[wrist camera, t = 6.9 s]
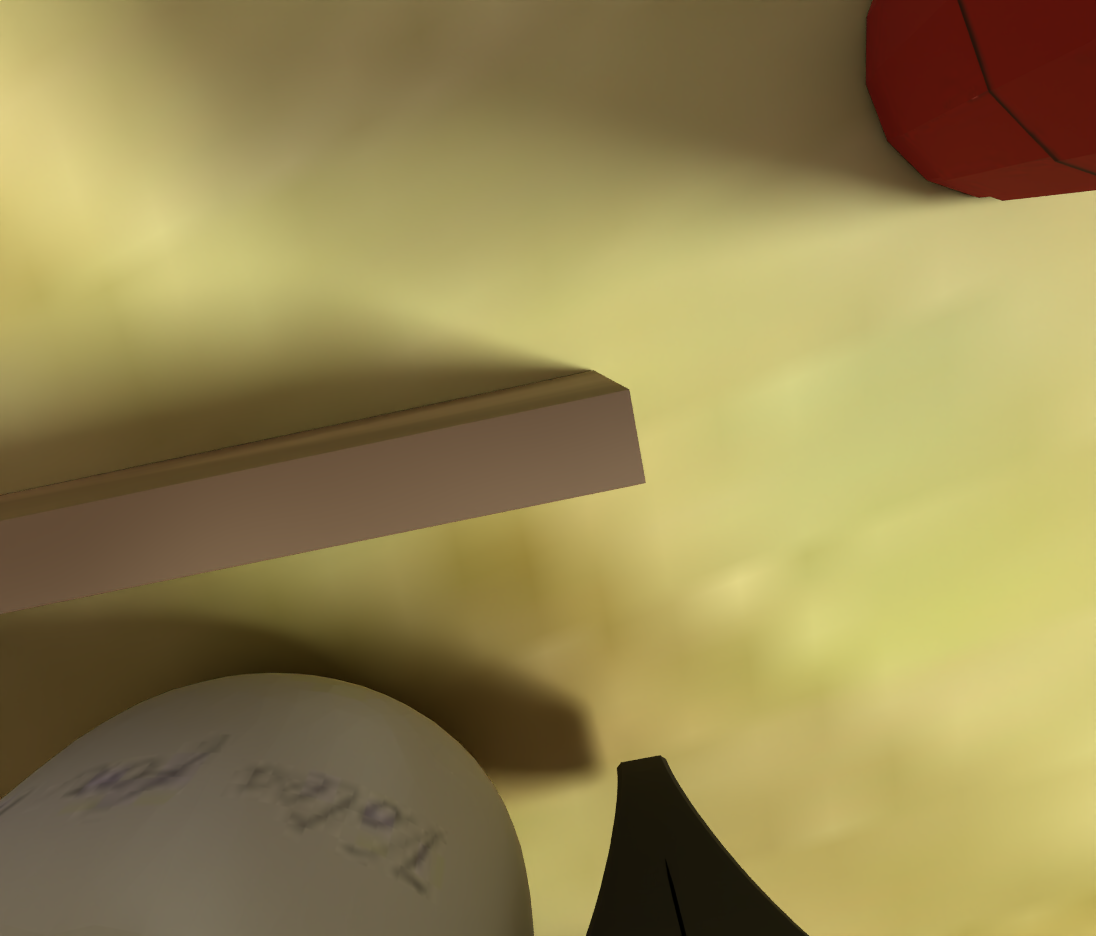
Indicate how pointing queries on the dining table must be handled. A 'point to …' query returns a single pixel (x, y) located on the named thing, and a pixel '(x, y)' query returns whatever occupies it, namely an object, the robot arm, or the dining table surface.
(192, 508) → the cubby
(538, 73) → the dining table surface
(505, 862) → the teacup
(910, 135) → the plastic cup
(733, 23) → the dining table surface
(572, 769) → the dining table surface
